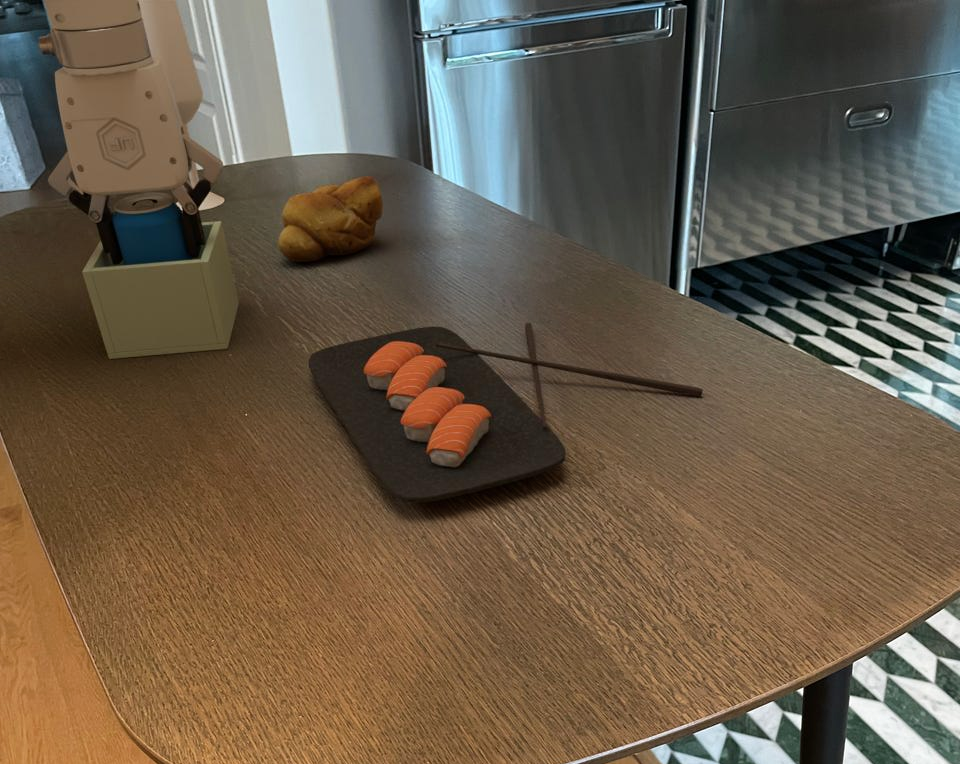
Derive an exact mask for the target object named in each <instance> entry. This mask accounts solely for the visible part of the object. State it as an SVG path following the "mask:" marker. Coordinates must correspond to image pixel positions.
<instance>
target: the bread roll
mask: <svg viewBox="0 0 960 764" xmlns="http://www.w3.org/2000/svg"><path fill="white" fill-rule="evenodd" d="M383 203H384V202H383V198H382V193H381V189H380V187H379V185H378V183H377V181H376V179H375V178H374V177H372V176H362V177H358V178H353V179H350V180H348V181H346V182H344V183H343V184H342V185H341V186H340V185H338V184H328V185H325V186H319V187H317V188H316V189H315V190H314V191H313V192H305V193H299V194H296V195H293V196H291V197H290V198H289V199H288V201H287V202H286V204H285V205H284V208H283V209H282V213H281V216H282V224H283V230H282V231H281V233H280V234H279V236H278V241H277V242H278V243H277V244H278V249H279V252H280V253H281V254H282V256H283V257H284V258H286V259H287V260H289V261H292V262H315V261H319V260H322V259H324V258H326V257H327V256H329V255H331V256H343V255H344V256H345V255H352V254H354V253H357V252H359V251H361V250H364V249H366V248H368V246H370V245H372V242H373V240H374V239H375V235H376V226H377V221H379V220H380V219H381V218H382V216H383V206H384V205H383Z"/></svg>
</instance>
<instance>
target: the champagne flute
mask: <svg viewBox="0 0 960 764" xmlns="http://www.w3.org/2000/svg"><path fill="white" fill-rule="evenodd" d="M138 1H139V5H140V9H141V13H142V18H143V22H144V26H145V31H146V35H147V39H148V43H149V48H150V52H151V56H152V58H156V59H159V60H160V62H161V65H162V67H163V69H164V71H165V74H166V76H167V79H168V82H169V84H170V87H171V90H172V93H173V95H174V98H175V102H176V105H177V108H178V111H179V114H180V117H181V121H182V124H183V127H184V131H185V134H186V136H188V137H189V138H191V137H190V131H189V126H188V124H189V123H190V122H191V121H192V120H193V118H194V117H195V115H196V114H197V113H198V111H199V109H200V106H201V103H202V101H203V96H204V95H203V94H204V93H203V89H202V85H201V81H200V79H199V75H198V71H197V69H196V65H195V61H194V58H193V55H192V52H191V51H192V50H191V47H190V45H189V41H188V37H187V34H186V30H185V27H184V24H183V20H182V17H181V13H180V9H179V6H178V3H177V0H138ZM188 178H189V183H190V184H191V185H192V187H193V188H194V187H195V186H196V184H197V183H198V181H199V180H200V178H199V173H198V169H197V163H196V162H194V161H193V160H192V169H191V171H190V172H189V175H188ZM224 202H225V198H224V197H222V196H220V195H218V194H216V193H213V192H212V191H210V192H209V194H208V195H207V197H206V198H205V200H204V201H203V202H202V204H201V205H200V207H199V208H198V209H199V211H205V210H210V209H213V208H217V207H218V206H221V205H222V204H224ZM175 204H176V205H177V206H179V208H180V209H181V211H183V210H182V206H181V205H180V203H179V202H178V201H177V202H175Z"/></svg>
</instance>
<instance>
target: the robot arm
mask: <svg viewBox="0 0 960 764" xmlns="http://www.w3.org/2000/svg"><path fill="white" fill-rule="evenodd" d="M43 1H44V5H45V8H46V12H47V15H48V19H49V21H50V26H51V28H50V30H49V33H47V35H45V36H44V35H43V36H38V38H37V39H38V46H39V49H40V52H41V53H42V55H51V56H53V57H54V56H55V57H56V59H58V63H59V65H62V67H60V68H59V69H57V70H56V71H54V83H55V91H56V99H57V104H58V110H59V116H60V120H61V126H62V130H63V135H64V136H63V137H64V140H65V144H66V149H67V151H66V152H65V154H64V155H63V156H62V158H61V160H60V161H59V162H58V163H57V165H56V166H55V168H54V169H53V170H52V172H51V173H50V175H49V176H48V177H47V182H48V184H49V185H50V187H52V188H53V189H54V190H56V192H58V193H59V194H61V195H62V196H63V197H64V198H67V200H68V201H69V202H70V204H72V205H73V206H74V207H76V208H77V209H78V210H80V211H81V212H82V213H84V214H85V215H86V216H88V218H89V220H90V221H91V222H93V223H95V225H96V230H97V232H98V236H99V239H100V241H101V243H102V246H103V249H104V252H105V253H110V256H111V259H112V263H113V265H116V264H120V263H121V262H122V260H123V257H122V254H121V250H120V247H119V243H118V239H117V236H116V232H115V229H114V225H113V221H112V219H113V215H114V211H111V209H110V208H109V204H110V200H111V199H110V198H111V195H112V196H113V195H124V194H125V195H126V194H140V193H152V192H162V191H168V190H169V192H170V194H172V196H173V198H174V199H175V200H176V201H177V202H179V203H180V205H181V206H182V210H181V211H182V215H181V222H182V226H183V230H184V234H185V238H186V243H187V247H188V251H189V255H190V257H192V258H198V256H199V253H200V250H201V245H205V236H204V231H203V227H202V223H203V222H202V218H201V215H200V214H201V213H200V210H199V209H198V208H199V207H200V205H201V204H202V202H203V201H204V200H205V198H206V197H207V195H208V194H209V192H211V191H212V188H213V187H214V185H215V183H216V182H217V180H218V178H219V177H220V175H221V173H222V171H223V168H224V163H223V160H222V159H220V158H218V157H217V156H216V155H215V154H213V153H212V152H211V151H209V150H207V148H205V147H203V146H202V145H201V144H199V143H198V142H196V141H195V140H193V139H192V138H191V137H190V138H189V137H188V136H186V134H185V131H184V127H183V124H182V121H181V117H180V114H179V111H178V108H177V105H176V102H175V98H174V95H173V93H172V90H171V87H170V84H169V82H168V79H167V76H166V74H165V71H164V69H163V67H162V65H161V62H160V60H159V59H156V58H152V56H151V52H150V48H149V43H148V39H147V35H146V31H145V26H144V22H143V18H142V13H141V9H140V5H139V1H138V0H43ZM192 160H193V161H194V162H195V163H196V165H199V166H200V167H201V168H202V170H203V173H202V175H201V177H200V178H199V181H198V183H197V184H196V186H195V187H194V188H193V187H192V185H191V182H190V180H189V179H188V178H189V172H190V171H191V169H192ZM72 173H73V176H74V179H75V182H76V183H75V182H74V181H73V180H72V179H71V174H72Z"/></svg>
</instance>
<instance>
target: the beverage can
mask: <svg viewBox="0 0 960 764" xmlns="http://www.w3.org/2000/svg"><path fill="white" fill-rule="evenodd" d="M112 207H113V210H114V211H113V214H114V215H113V219H112V221H113V225H114V229H115V232H116V236H117V239H118V243H119V247H120V250H121V254H122V257H123V261H124V265H136V264H148V263H160V262H172V261H184V260H193V258H192V257H190V255H189V251H188V247H187V243H186V238H185V234H184V230H183V226H182V222H181V215H182V213H183V210H181V209H180V208H179V206H177V205H176V202H175V197H174V195H173V194H172V195H171V193H170V194H169V193H165V192H141V193H135V194H131V195H128V196H125V197H123V198H120V199H118V200H117V201H115V202H114V203H113V206H112Z"/></svg>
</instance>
